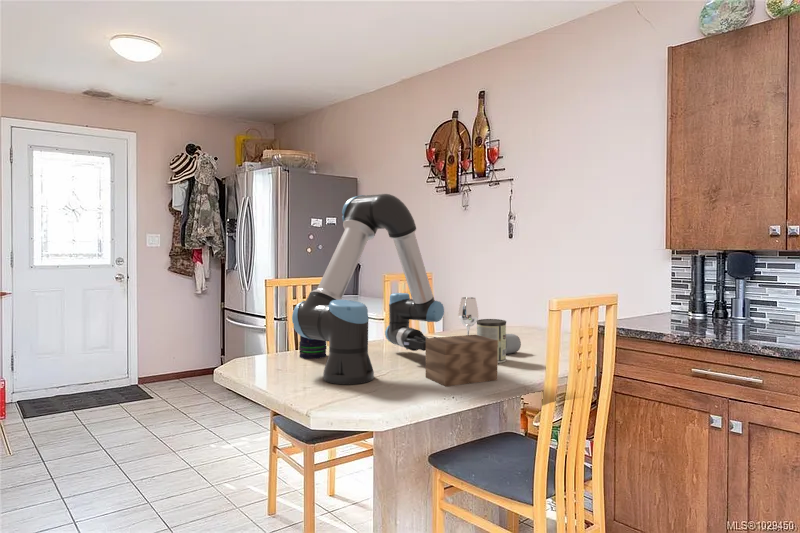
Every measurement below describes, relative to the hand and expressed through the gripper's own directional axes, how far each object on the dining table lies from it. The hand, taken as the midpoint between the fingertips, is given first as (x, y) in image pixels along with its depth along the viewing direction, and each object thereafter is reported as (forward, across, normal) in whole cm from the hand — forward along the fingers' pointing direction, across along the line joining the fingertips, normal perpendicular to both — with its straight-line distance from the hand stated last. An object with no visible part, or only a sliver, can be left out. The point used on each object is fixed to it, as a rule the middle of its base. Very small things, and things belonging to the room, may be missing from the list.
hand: (443, 349), depth 177 cm
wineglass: (-31, -29, -7) cm, 43 cm away
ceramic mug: (-18, -37, -7) cm, 41 cm away
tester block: (+11, 0, -7) cm, 13 cm away
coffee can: (-8, -24, -7) cm, 26 cm away
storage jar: (-41, +31, -7) cm, 52 cm away
